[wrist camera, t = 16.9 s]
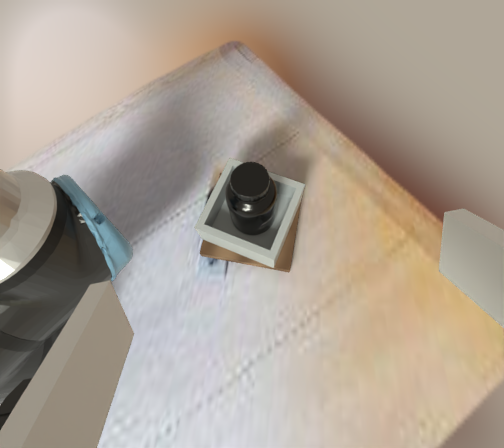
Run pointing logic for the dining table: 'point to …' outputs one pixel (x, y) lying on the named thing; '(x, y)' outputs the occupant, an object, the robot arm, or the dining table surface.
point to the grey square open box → (251, 246)
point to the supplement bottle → (251, 198)
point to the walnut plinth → (281, 263)
